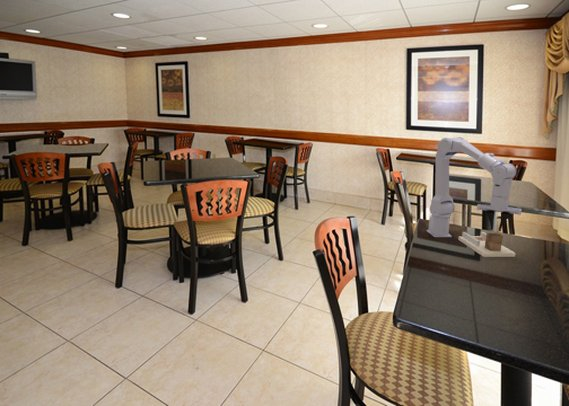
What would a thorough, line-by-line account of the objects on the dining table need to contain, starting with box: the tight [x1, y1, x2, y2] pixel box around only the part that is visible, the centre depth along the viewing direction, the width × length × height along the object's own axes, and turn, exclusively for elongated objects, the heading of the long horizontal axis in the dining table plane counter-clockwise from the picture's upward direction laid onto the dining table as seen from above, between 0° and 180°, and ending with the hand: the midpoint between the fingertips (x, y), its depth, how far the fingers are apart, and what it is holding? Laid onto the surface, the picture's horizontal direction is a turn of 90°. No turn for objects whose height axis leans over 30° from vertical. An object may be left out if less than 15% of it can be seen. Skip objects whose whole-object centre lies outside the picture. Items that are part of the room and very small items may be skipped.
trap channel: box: [457, 231, 516, 258], centre depth 144 cm, size 20×12×4 cm, turn 0°
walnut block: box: [485, 232, 504, 251], centre depth 138 cm, size 4×4×6 cm
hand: (495, 229), depth 137 cm, fingers closed
